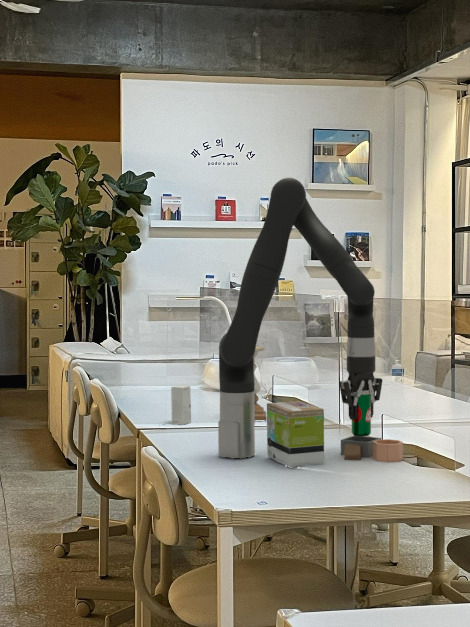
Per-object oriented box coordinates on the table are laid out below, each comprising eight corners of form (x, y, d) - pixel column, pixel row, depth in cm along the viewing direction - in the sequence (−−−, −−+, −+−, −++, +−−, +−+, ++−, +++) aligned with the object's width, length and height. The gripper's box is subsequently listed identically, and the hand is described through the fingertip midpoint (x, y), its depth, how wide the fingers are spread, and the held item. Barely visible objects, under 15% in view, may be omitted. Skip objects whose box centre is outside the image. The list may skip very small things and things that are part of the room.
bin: (368, 459, 248) (368, 442, 248) (340, 456, 252) (340, 439, 252) (381, 454, 255) (381, 438, 255) (354, 451, 259) (354, 435, 259)
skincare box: (183, 425, 306) (183, 387, 305) (170, 424, 307) (170, 386, 307) (191, 422, 311) (191, 385, 311) (179, 421, 313) (179, 384, 313)
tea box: (265, 458, 251) (265, 402, 251) (300, 455, 255) (300, 400, 254) (289, 469, 237) (288, 409, 237) (325, 466, 241) (325, 407, 240)
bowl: (395, 465, 241) (395, 445, 241) (369, 462, 245) (369, 442, 245) (406, 460, 247) (406, 441, 247) (380, 457, 251) (380, 438, 251)
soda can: (370, 436, 250) (370, 391, 250) (350, 436, 251) (350, 390, 251) (371, 433, 255) (371, 388, 255) (352, 433, 256) (352, 388, 256)
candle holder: (266, 421, 312) (265, 348, 311) (232, 421, 312) (232, 348, 311) (265, 416, 323) (265, 345, 322) (233, 416, 323) (232, 346, 322)
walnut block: (359, 462, 245) (359, 447, 245) (344, 462, 246) (344, 446, 246) (361, 459, 249) (361, 444, 249) (345, 459, 250) (345, 444, 249)
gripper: (351, 357, 245) (351, 423, 246) (390, 353, 254) (390, 417, 255) (331, 355, 251) (331, 419, 252) (370, 351, 260) (370, 414, 260)
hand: (361, 418), depth 253 cm, fingers closed on soda can, 5 cm apart
